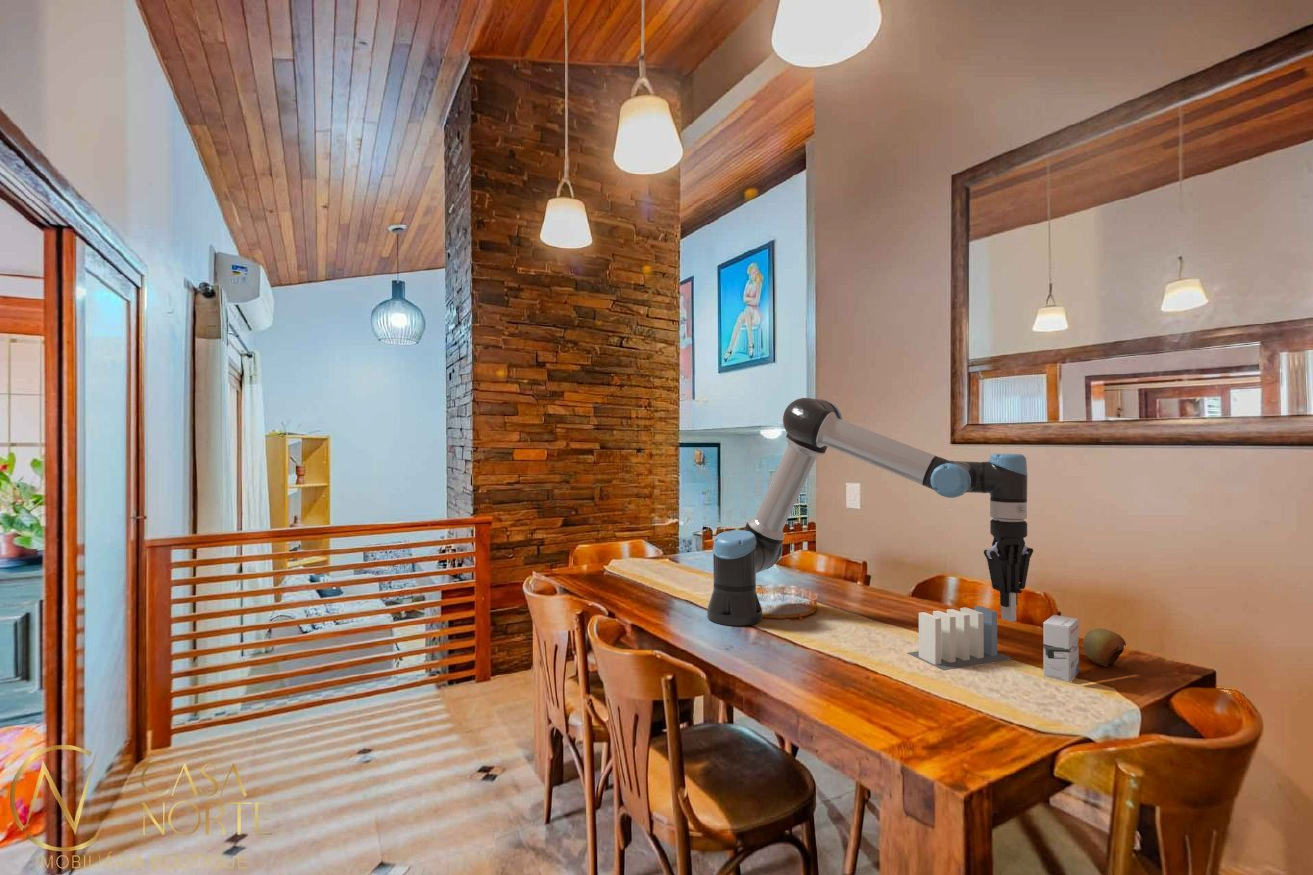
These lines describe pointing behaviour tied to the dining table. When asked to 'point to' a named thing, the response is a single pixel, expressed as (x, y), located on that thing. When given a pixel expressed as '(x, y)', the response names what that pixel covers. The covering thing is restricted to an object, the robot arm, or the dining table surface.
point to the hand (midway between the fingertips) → (1008, 619)
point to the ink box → (1061, 648)
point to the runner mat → (966, 661)
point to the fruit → (1103, 646)
